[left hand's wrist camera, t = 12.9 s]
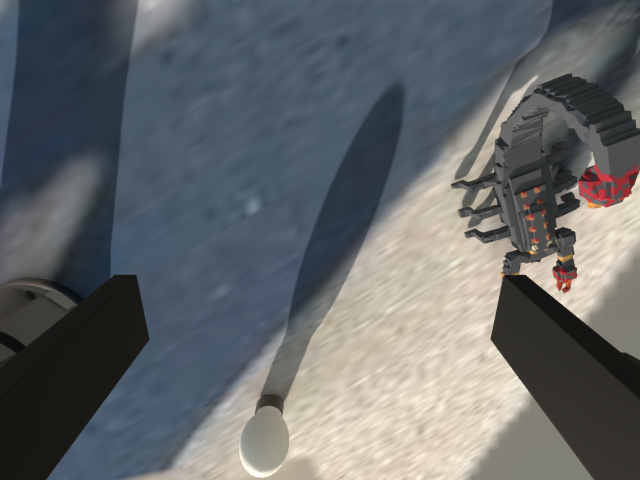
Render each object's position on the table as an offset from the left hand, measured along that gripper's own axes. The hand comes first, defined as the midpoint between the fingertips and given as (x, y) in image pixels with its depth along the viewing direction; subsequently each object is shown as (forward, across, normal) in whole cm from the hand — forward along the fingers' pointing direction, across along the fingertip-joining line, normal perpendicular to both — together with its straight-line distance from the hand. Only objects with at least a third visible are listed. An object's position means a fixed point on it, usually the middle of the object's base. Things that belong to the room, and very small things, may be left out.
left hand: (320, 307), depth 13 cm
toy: (+31, -24, +4) cm, 39 cm away
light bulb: (+31, +8, +36) cm, 49 cm away
